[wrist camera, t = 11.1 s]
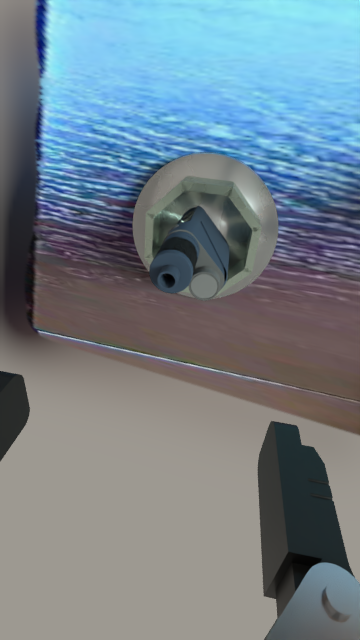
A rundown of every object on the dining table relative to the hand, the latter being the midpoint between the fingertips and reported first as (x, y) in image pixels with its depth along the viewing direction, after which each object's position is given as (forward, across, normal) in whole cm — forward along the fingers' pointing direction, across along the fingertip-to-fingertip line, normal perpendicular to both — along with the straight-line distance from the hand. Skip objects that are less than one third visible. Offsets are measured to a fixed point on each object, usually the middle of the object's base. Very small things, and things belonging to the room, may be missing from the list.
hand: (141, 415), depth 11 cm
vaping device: (+20, 0, 0) cm, 20 cm away
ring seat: (+21, 0, 0) cm, 21 cm away
